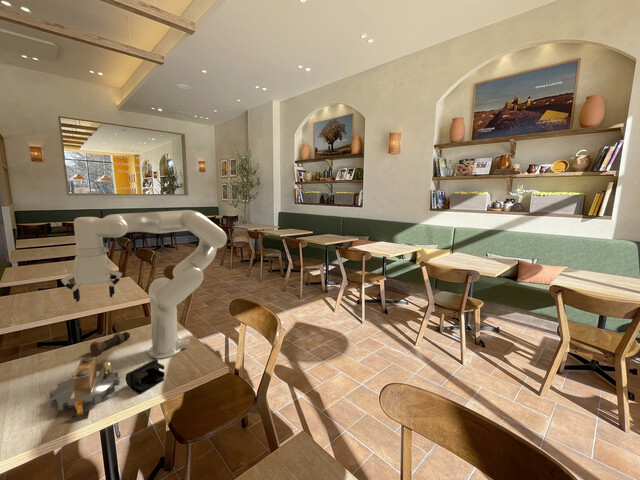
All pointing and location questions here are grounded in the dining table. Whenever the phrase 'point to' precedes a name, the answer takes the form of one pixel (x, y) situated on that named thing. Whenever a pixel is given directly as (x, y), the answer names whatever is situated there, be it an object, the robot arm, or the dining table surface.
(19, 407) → the dining table surface
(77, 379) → the tan block with disc
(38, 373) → the dining table surface
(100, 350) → the bolt
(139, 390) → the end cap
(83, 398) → the sprocket
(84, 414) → the sprocket stand
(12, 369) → the dining table surface
